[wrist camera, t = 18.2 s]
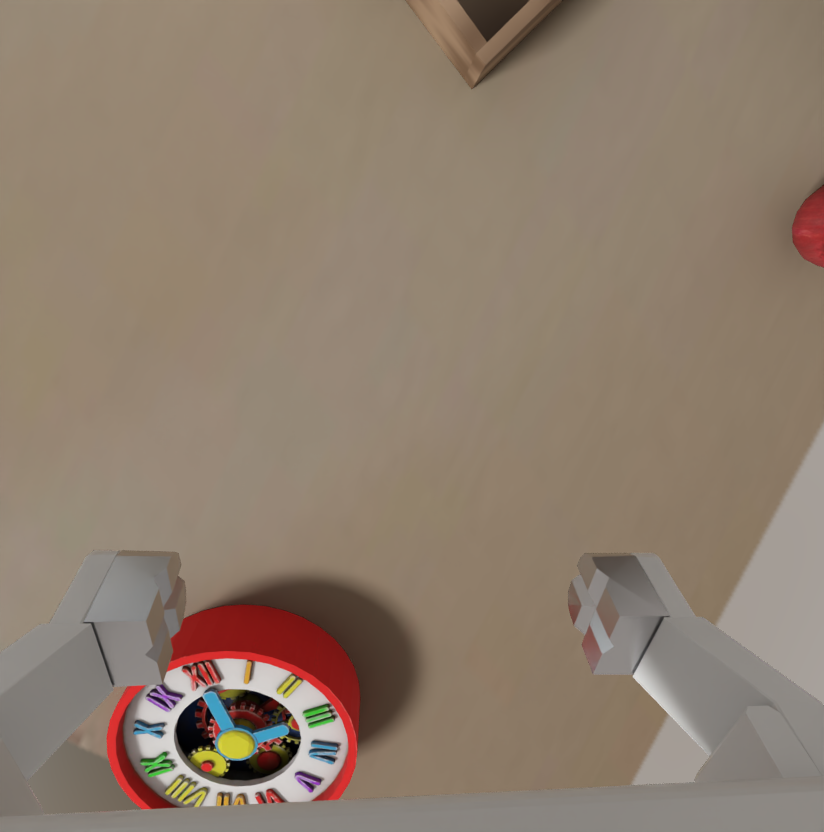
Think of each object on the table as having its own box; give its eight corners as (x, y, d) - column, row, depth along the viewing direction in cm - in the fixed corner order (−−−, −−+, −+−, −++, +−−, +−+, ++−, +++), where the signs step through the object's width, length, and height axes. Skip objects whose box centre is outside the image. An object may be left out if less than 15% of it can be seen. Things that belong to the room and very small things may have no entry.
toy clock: (173, 866, 48) (59, 695, 42) (195, 801, 53) (97, 642, 47) (389, 803, 47) (305, 619, 41) (389, 744, 52) (314, 574, 46)
